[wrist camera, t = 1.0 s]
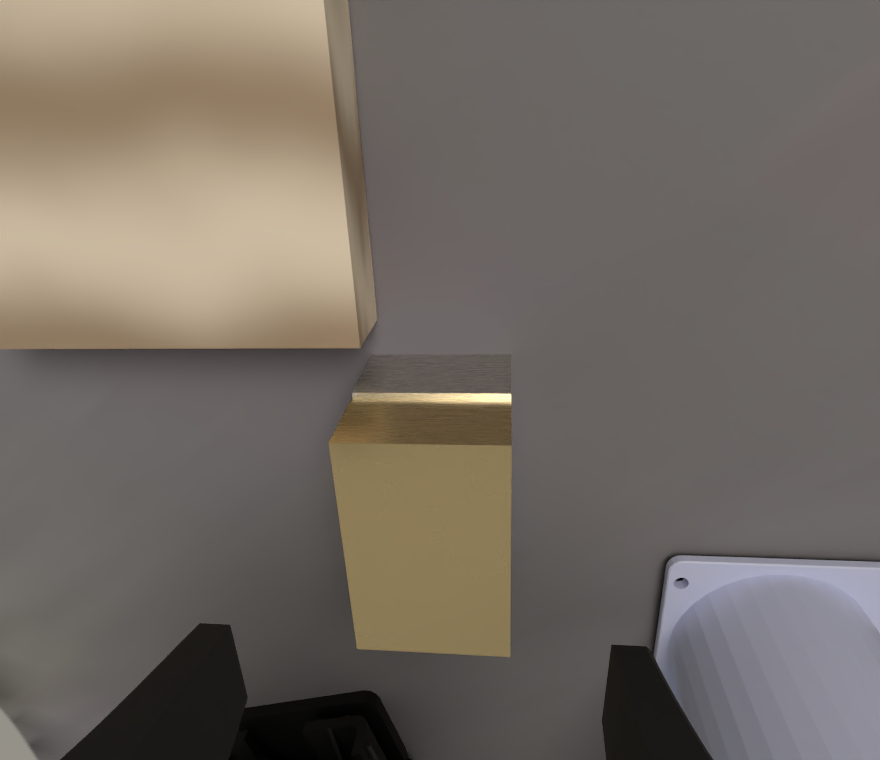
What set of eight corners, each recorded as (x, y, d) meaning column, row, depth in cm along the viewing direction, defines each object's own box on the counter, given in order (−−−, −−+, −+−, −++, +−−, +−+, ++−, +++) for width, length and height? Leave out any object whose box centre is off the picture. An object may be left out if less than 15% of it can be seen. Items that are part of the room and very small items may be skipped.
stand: (377, 319, 20) (360, 348, 17) (36, 322, 21) (-21, 349, 19) (334, -152, 15) (302, -197, 12) (-109, -110, 16) (-210, -143, 14)
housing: (509, 537, 23) (510, 660, 18) (390, 533, 24) (357, 652, 18) (511, 353, 20) (511, 440, 15) (372, 353, 20) (327, 437, 15)
